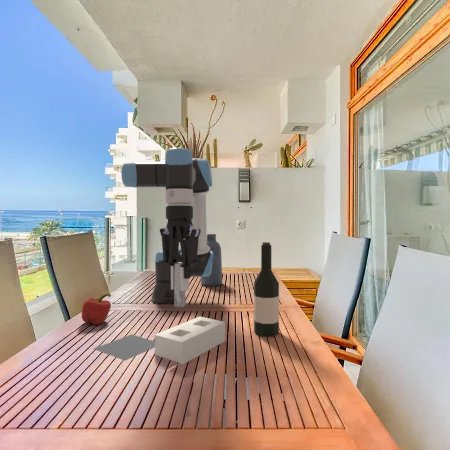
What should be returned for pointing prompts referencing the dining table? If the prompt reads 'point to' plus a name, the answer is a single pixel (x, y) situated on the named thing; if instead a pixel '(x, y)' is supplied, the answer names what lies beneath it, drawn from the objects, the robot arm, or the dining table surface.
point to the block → (189, 339)
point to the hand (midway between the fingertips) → (179, 289)
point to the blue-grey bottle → (214, 263)
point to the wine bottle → (266, 297)
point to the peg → (178, 286)
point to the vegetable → (96, 310)
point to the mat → (127, 347)
